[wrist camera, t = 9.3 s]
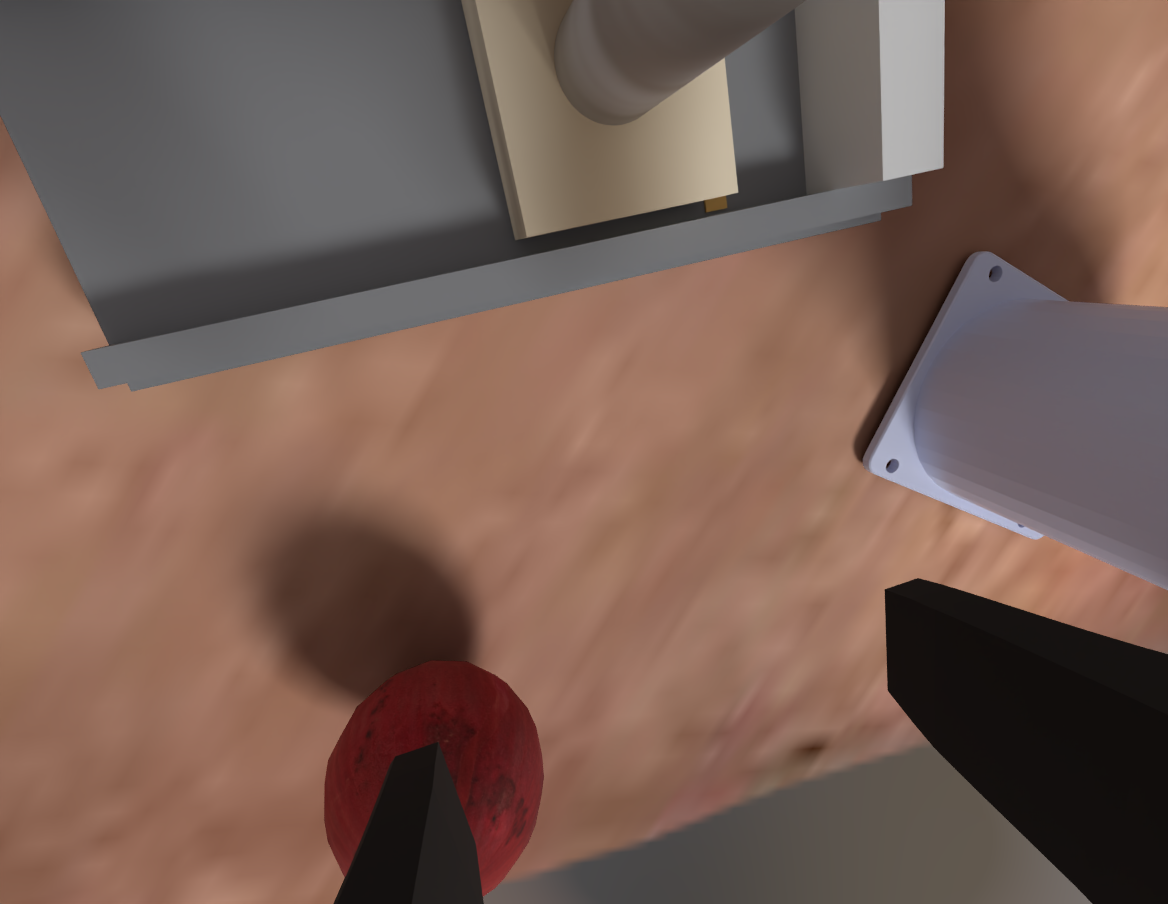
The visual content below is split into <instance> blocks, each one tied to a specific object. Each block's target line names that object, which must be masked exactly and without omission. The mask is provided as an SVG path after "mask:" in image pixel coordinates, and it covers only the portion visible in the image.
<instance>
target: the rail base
mask: <svg viewBox="0 0 1168 904" xmlns="http://www.w3.org/2000/svg"><path fill="white" fill-rule="evenodd" d="M944 32H945V0H806V1H804V2H803V3H802V4H800V5H799V6H798V7H796V8H795V9H793V10H792V11H790V12H789V13H788V14H786V15H785V16H783V17H782V18H780V19H779V20H778V21H776V22H775V23H773V24H772V25H771V26H769V27H768V28H766V29H765V30H763V31H762V32H761V33H759V34H758V35H756V36H755V37H753V38H752V39H751V40H749V41H748V42H746V43H745V44H743V45H742V46H741V47H739V48H738V49H736V50H735V51H733V52H732V53H731V54H729V55H728V56H726V57H725V66H726V76H727V86H728V96H729V106H730V116H731V126H732V136H733V146H734V155H735V165H736V175H737V185H738V193H734V194H730V195H726V196H721V197H717V198H713V199H708V200H704V201H699V202H695V203H690V204H685V205H681V206H676V207H671V208H666V209H662V210H657V211H652V212H647V213H643V214H638V215H633V216H628V217H624V218H619V219H614V220H609V221H605V222H600V223H595V224H590V225H586V226H581V227H576V228H572V229H567V230H562V231H557V232H553V233H548V234H543V235H538V236H534V237H529V238H524V239H519V240H515V237H514V233H513V229H512V224H511V220H510V215H509V211H508V206H507V202H506V197H505V193H504V189H503V184H502V180H501V175H500V171H499V166H498V162H497V158H496V153H495V149H494V144H493V140H492V135H491V131H490V126H489V122H488V118H487V113H486V109H485V104H484V100H483V95H482V91H481V87H480V82H479V78H478V73H477V69H476V64H475V60H474V55H473V51H472V47H471V42H470V38H469V33H468V29H467V24H466V20H465V16H464V11H463V7H462V2H461V0H0V116H1V118H2V120H3V122H4V124H5V126H6V128H7V130H8V132H9V135H10V137H11V139H12V141H13V143H14V145H15V147H16V149H17V151H18V154H19V156H20V158H21V160H22V162H23V164H24V166H25V168H26V170H27V173H28V175H29V177H30V179H31V181H32V183H33V185H34V187H35V189H36V192H37V194H38V196H39V198H40V200H41V202H42V204H43V206H44V208H45V211H46V213H47V215H48V217H49V219H50V221H51V223H52V225H53V227H54V229H55V232H56V234H57V236H58V238H59V240H60V242H61V244H62V246H63V248H64V251H65V253H66V255H67V257H68V259H69V261H70V263H71V265H72V267H73V270H74V272H75V274H76V276H77V278H78V280H79V282H80V284H81V286H82V289H83V291H84V293H85V295H86V297H87V299H88V301H89V303H90V305H91V308H92V310H93V312H94V314H95V316H96V318H97V320H98V322H99V324H100V327H101V329H102V331H103V333H104V335H105V337H106V339H107V341H108V343H109V346H105V347H101V348H97V349H93V350H89V351H85V352H81V355H82V357H83V359H84V361H85V363H86V365H87V367H88V369H89V371H90V373H91V375H92V377H93V379H94V381H95V383H96V385H97V387H98V389H102V388H107V387H111V386H116V385H120V384H125V383H128V386H129V388H130V390H131V392H132V391H136V390H140V389H145V388H149V387H154V386H158V385H162V384H167V383H171V382H175V381H180V380H184V379H189V378H193V377H197V376H202V375H206V374H211V373H215V372H219V371H224V370H228V369H232V368H237V367H241V366H246V365H250V364H254V363H259V362H263V361H267V360H272V359H276V358H281V357H285V356H289V355H294V354H298V353H302V352H307V351H311V350H316V349H320V348H324V347H329V346H333V345H338V344H342V343H346V342H351V341H355V340H359V339H364V338H368V337H373V336H377V335H381V334H386V333H390V332H394V331H399V330H403V329H408V328H412V327H416V326H421V325H425V324H429V323H434V322H438V321H443V320H447V319H451V318H456V317H460V316H465V315H469V314H473V313H478V312H482V311H486V310H491V309H495V308H500V307H504V306H508V305H513V304H517V303H521V302H526V301H530V300H535V299H539V298H543V297H548V296H552V295H556V294H561V293H565V292H570V291H574V290H578V289H583V288H587V287H592V286H596V285H600V284H605V283H609V282H613V281H618V280H622V279H627V278H631V277H635V276H640V275H644V274H648V273H653V272H657V271H662V270H666V269H670V268H675V267H679V266H683V265H688V264H692V263H697V262H701V261H705V260H710V259H714V258H719V257H723V256H727V255H732V254H736V253H740V252H745V251H749V250H754V249H758V248H762V247H767V246H771V245H775V244H780V243H784V242H789V241H793V240H797V239H802V238H806V237H810V236H815V235H819V234H824V233H828V232H832V231H837V230H841V229H845V228H850V227H854V226H859V225H863V224H867V223H872V222H876V221H881V212H886V211H890V210H895V209H899V208H903V207H908V206H912V175H913V174H918V173H922V172H927V171H931V170H936V169H941V168H943V157H944Z"/></svg>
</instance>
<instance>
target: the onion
mask: <svg viewBox="0 0 1168 904" xmlns="http://www.w3.org/2000/svg"><path fill="white" fill-rule="evenodd" d="M436 742H439V745H440V748H441V750H442V753H443V756H444V758H445V761H446V764H447V767H448V769H449V772H450V775H451V777H452V780H453V783H454V786H455V788H456V791H457V794H458V796H459V799H460V802H461V805H462V807H463V810H464V813H465V815H466V818H467V821H468V824H469V826H470V829H471V832H472V834H473V837H474V840H475V843H476V848H477V856H478V864H479V871H480V879H481V886H482V895H483V896H484V895H486V894H487V893H489V892H490V891H492V890H493V889H495V888H496V886H497V885H498V884H499V883H500V882H501V881H502V880H503V879H504V878H505V876H506V875H507V873H508V872H509V871H510V869H511V868H512V866H513V865H514V864H515V862H516V861H517V859H518V858H519V856H520V855H521V853H522V852H523V850H524V849H525V847H526V845H527V844H528V842H529V840H530V837H531V835H532V832H533V830H534V827H535V824H536V819H537V815H538V810H539V805H540V800H541V794H542V787H543V780H544V773H543V761H542V753H541V748H540V743H539V738H538V734H537V729H536V726H535V723H534V721H533V719H532V717H531V715H530V713H529V710H528V708H527V707H526V706H525V704H524V703H523V702H522V701H521V700H520V698H519V697H518V696H517V695H516V694H515V693H514V691H513V690H512V689H511V688H510V687H509V685H508V684H507V683H505V682H504V681H503V680H501V679H500V678H498V677H497V676H496V675H494V674H492V673H490V672H488V671H486V670H483V669H481V668H479V667H477V666H475V665H473V664H471V663H469V662H467V661H435V660H430V661H428V662H425V663H423V664H420V665H418V666H415V667H412V668H410V669H407V670H405V671H402V672H400V673H397V674H395V675H394V676H393V677H391V678H390V679H388V680H387V681H386V682H384V683H383V684H382V685H381V686H380V687H379V688H378V689H377V690H375V691H374V692H373V693H372V694H371V695H370V696H369V697H368V698H366V699H365V700H364V701H363V702H362V703H361V704H360V705H359V706H357V708H356V710H355V711H354V713H353V715H352V717H351V719H350V720H349V722H348V724H347V726H346V727H345V729H344V731H343V733H342V735H341V736H340V738H339V740H338V742H337V744H336V746H335V748H334V750H333V752H332V754H331V756H330V758H329V760H328V765H327V771H326V778H325V797H324V821H325V827H326V833H327V839H328V843H329V845H330V847H331V849H332V852H333V854H334V856H335V858H336V860H337V862H338V864H339V866H340V869H341V871H342V873H343V875H344V877H345V876H346V874H347V872H348V869H349V867H350V865H351V863H352V860H353V858H354V855H355V853H356V850H357V848H358V846H359V843H360V841H361V838H362V836H363V833H364V831H365V828H366V826H367V823H368V821H369V818H370V816H371V813H372V811H373V808H374V805H375V803H376V800H377V798H378V795H379V792H380V790H381V787H382V784H383V782H384V779H385V776H386V774H387V771H388V768H389V765H390V764H391V762H392V761H393V759H394V758H395V756H398V755H401V754H404V753H407V752H410V751H413V750H416V749H418V748H421V747H424V746H427V745H430V744H433V743H436Z"/></svg>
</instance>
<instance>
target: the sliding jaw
mask: <svg viewBox="0 0 1168 904" xmlns="http://www.w3.org/2000/svg"><path fill="white" fill-rule="evenodd" d="M804 1H806V0H461V2H462V7H463V11H464V16H465V20H466V24H467V29H468V33H469V38H470V42H471V47H472V51H473V55H474V60H475V64H476V69H477V73H478V78H479V82H480V87H481V91H482V95H483V100H484V104H485V109H486V113H487V118H488V122H489V126H490V131H491V135H492V140H493V144H494V149H495V153H496V158H497V162H498V166H499V171H500V175H501V180H502V184H503V189H504V193H505V197H506V202H507V206H508V211H509V215H510V220H511V224H512V229H513V233H514V237H515V240H519V239H524V238H529V237H534V236H538V235H543V234H548V233H553V232H557V231H562V230H567V229H572V228H576V227H581V226H586V225H590V224H595V223H600V222H605V221H609V220H614V219H619V218H624V217H628V216H633V215H638V214H643V213H647V212H652V211H657V210H662V209H666V208H671V207H676V206H681V205H685V204H690V203H695V202H699V201H704V200H708V199H713V198H717V197H721V196H726V195H730V194H734V193H738V185H737V175H736V165H735V155H734V146H733V136H732V126H731V116H730V106H729V96H728V86H727V76H726V66H725V57H726V56H728V55H729V54H731V53H732V52H733V51H735V50H736V49H738V48H739V47H741V46H742V45H743V44H745V43H746V42H748V41H749V40H751V39H752V38H753V37H755V36H756V35H758V34H759V33H761V32H762V31H763V30H765V29H766V28H768V27H769V26H771V25H772V24H773V23H775V22H776V21H778V20H779V19H780V18H782V17H783V16H785V15H786V14H788V13H789V12H790V11H792V10H793V9H795V8H796V7H798V6H799V5H800V4H802V3H803V2H804Z"/></svg>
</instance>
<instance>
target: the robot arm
mask: <svg viewBox="0 0 1168 904" xmlns="http://www.w3.org/2000/svg"><path fill="white" fill-rule="evenodd" d="M991 269H992V274H991V277H990V278H989V273H990V270H991ZM889 460H891V463H890V465H889V467H888V468H886V465H887V463H888V462H889ZM863 466H864V468H865V469H866V470H867V471H869V472H871V473H873V474H875V475H878V476H880V477H883V478H885V479H888V480H890V481H892V482H895V483H897V484H900V485H902V486H905V487H907V488H909V489H912V490H914V491H917V492H919V493H922V494H924V495H926V496H929V497H931V498H934V499H936V500H939V501H941V502H943V503H946V504H948V505H951V506H953V507H956V508H958V509H960V510H963V511H965V512H968V513H970V514H973V515H975V516H977V517H980V518H982V519H985V520H987V521H990V522H992V523H995V524H997V525H999V526H1002V527H1004V528H1007V529H1009V530H1012V531H1014V532H1016V533H1019V534H1021V535H1024V536H1026V537H1029V538H1031V539H1039V538H1041V537H1043V536H1044V535H1045V536H1047V537H1049V538H1052V539H1054V540H1056V541H1058V542H1061V543H1063V544H1065V545H1067V546H1070V547H1072V548H1074V549H1076V550H1079V551H1081V552H1083V553H1085V554H1088V555H1090V556H1092V557H1094V558H1097V559H1099V560H1101V561H1103V562H1106V563H1108V564H1110V565H1112V566H1115V567H1117V568H1119V569H1121V570H1123V571H1126V572H1128V573H1130V574H1132V575H1135V576H1137V577H1139V578H1141V579H1144V580H1146V581H1148V582H1150V583H1153V584H1155V585H1157V586H1159V587H1162V588H1164V589H1166V590H1168V307H1154V306H1137V305H1121V304H1104V303H1088V302H1071V301H1068V300H1066V299H1065V298H1063V297H1061V296H1060V295H1058V294H1057V293H1055V292H1054V291H1052V290H1050V289H1049V288H1047V287H1046V286H1044V285H1042V284H1041V283H1039V282H1038V281H1036V280H1034V279H1033V278H1031V277H1030V276H1028V275H1027V274H1025V273H1023V272H1022V271H1020V270H1019V269H1017V268H1015V267H1014V266H1012V265H1011V264H1009V263H1007V262H1006V261H1004V260H1003V259H1001V258H1000V257H998V256H996V255H995V254H993V253H991V252H988V251H981V252H975V253H973V254H972V255H970V256H969V258H968V259H967V260H966V262H965V264H964V266H963V268H962V270H961V272H960V273H959V275H958V277H957V279H956V281H955V283H954V285H953V287H952V289H951V291H950V292H949V294H948V296H947V298H946V300H945V302H944V304H943V306H942V308H941V310H940V312H939V313H938V315H937V317H936V319H935V321H934V323H933V325H932V327H931V329H930V331H929V332H928V334H927V336H926V338H925V340H924V342H923V344H922V346H921V348H920V350H919V352H918V353H917V355H916V357H915V359H914V361H913V363H912V365H911V367H910V369H909V371H908V372H907V374H906V376H905V378H904V380H903V382H902V384H901V386H900V388H899V390H898V392H897V393H896V395H895V397H894V399H893V401H892V403H891V405H890V407H889V409H888V411H887V412H886V414H885V416H884V418H883V420H882V422H881V424H880V426H879V428H878V430H877V432H876V433H875V435H874V437H873V439H872V441H871V443H870V445H869V447H868V449H867V451H866V452H865V455H864V457H863ZM885 613H886V647H887V681H888V691H889V693H890V694H891V695H892V697H893V698H894V699H895V700H896V702H897V703H898V704H899V705H900V707H901V708H902V709H903V710H904V712H905V713H906V714H907V716H908V717H909V718H910V719H911V721H912V722H913V723H914V724H915V725H916V727H917V728H918V729H919V730H920V731H921V733H922V734H923V735H924V736H925V737H926V738H927V740H928V741H929V742H930V743H931V744H932V746H933V747H934V748H935V749H936V750H937V751H938V752H939V753H940V754H941V755H942V756H943V757H944V758H945V759H946V760H947V761H948V762H949V763H950V764H951V765H952V766H953V767H954V768H955V769H956V770H957V771H958V772H959V773H960V774H961V775H962V776H963V777H964V778H965V779H966V780H967V781H968V782H969V783H970V784H971V785H972V786H973V787H974V788H975V789H976V790H977V791H978V792H979V793H980V794H982V796H983V797H984V798H985V799H987V800H988V801H989V802H990V803H991V804H992V805H993V806H994V807H995V808H996V809H997V810H998V811H999V812H1000V813H1001V814H1002V815H1003V816H1004V817H1005V818H1006V819H1007V820H1008V821H1009V822H1010V823H1011V824H1012V825H1013V826H1014V827H1015V828H1016V829H1017V830H1018V831H1019V832H1021V834H1023V836H1025V837H1026V838H1027V839H1028V840H1029V841H1030V842H1031V843H1032V844H1033V845H1034V846H1035V847H1036V848H1037V849H1038V850H1039V851H1040V852H1041V853H1042V854H1043V855H1044V856H1045V857H1046V858H1047V859H1048V860H1049V861H1050V862H1051V863H1052V864H1053V865H1054V866H1055V867H1056V868H1057V869H1058V870H1059V871H1061V872H1062V873H1063V874H1064V875H1065V876H1066V877H1067V878H1068V879H1069V880H1070V881H1071V882H1072V883H1073V884H1074V885H1075V886H1076V887H1077V888H1078V889H1079V890H1080V891H1081V892H1082V893H1083V894H1084V895H1085V896H1086V897H1087V899H1088V900H1089V901H1090V902H1091V903H1092V904H1168V654H1165V653H1162V652H1158V651H1154V650H1151V649H1147V648H1144V647H1140V646H1137V645H1133V644H1130V643H1127V642H1123V641H1120V640H1117V639H1113V638H1110V637H1106V636H1103V635H1100V634H1097V633H1093V632H1090V631H1087V630H1084V629H1080V628H1077V627H1074V626H1071V625H1068V624H1065V623H1061V622H1058V621H1055V620H1052V619H1049V618H1046V617H1043V616H1039V615H1036V614H1033V613H1030V612H1027V611H1024V610H1021V609H1018V608H1015V607H1011V606H1008V605H1005V604H1002V603H999V602H996V601H993V600H990V599H987V598H984V597H980V596H977V595H974V594H971V593H968V592H964V591H961V590H958V589H955V588H951V587H948V586H945V585H941V584H938V583H934V582H930V581H927V580H923V579H919V578H917V579H914V580H911V581H908V582H905V583H902V584H900V585H897V586H894V587H891V588H888V589H885ZM334 904H484V903H483V895H482V886H481V879H480V871H479V864H478V856H477V848H476V843H475V840H474V837H473V834H472V832H471V829H470V826H469V824H468V821H467V818H466V815H465V813H464V810H463V807H462V805H461V802H460V799H459V796H458V794H457V791H456V788H455V786H454V783H453V780H452V777H451V775H450V772H449V769H448V767H447V764H446V761H445V758H444V756H443V753H442V750H441V748H440V745H439V742H436V743H433V744H430V745H427V746H424V747H421V748H418V749H416V750H413V751H410V752H407V753H404V754H401V755H398V756H395V758H394V759H393V761H392V762H391V764H390V765H389V768H388V771H387V774H386V776H385V779H384V782H383V784H382V787H381V790H380V792H379V795H378V798H377V800H376V803H375V805H374V808H373V811H372V813H371V816H370V818H369V821H368V823H367V826H366V828H365V831H364V833H363V836H362V838H361V841H360V843H359V846H358V848H357V850H356V853H355V855H354V858H353V860H352V863H351V865H350V867H349V869H348V872H347V874H346V876H345V879H344V881H343V883H342V886H341V888H340V890H339V892H338V895H337V897H336V899H335V902H334Z"/></svg>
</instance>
